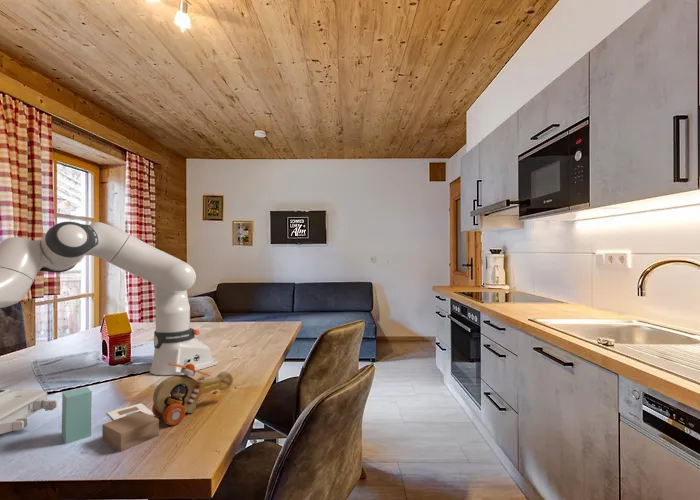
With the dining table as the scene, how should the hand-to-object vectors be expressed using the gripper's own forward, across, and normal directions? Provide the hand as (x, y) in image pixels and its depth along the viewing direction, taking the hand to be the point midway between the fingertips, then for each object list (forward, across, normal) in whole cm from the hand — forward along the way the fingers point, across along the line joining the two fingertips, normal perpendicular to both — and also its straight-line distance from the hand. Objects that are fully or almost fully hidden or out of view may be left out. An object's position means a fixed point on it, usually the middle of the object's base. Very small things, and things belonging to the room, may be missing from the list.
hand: (41, 414), depth 79 cm
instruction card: (+14, +10, +5) cm, 18 cm away
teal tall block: (+7, 0, +5) cm, 9 cm away
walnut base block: (+20, -3, +6) cm, 21 cm away
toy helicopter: (+29, +9, +6) cm, 31 cm away
